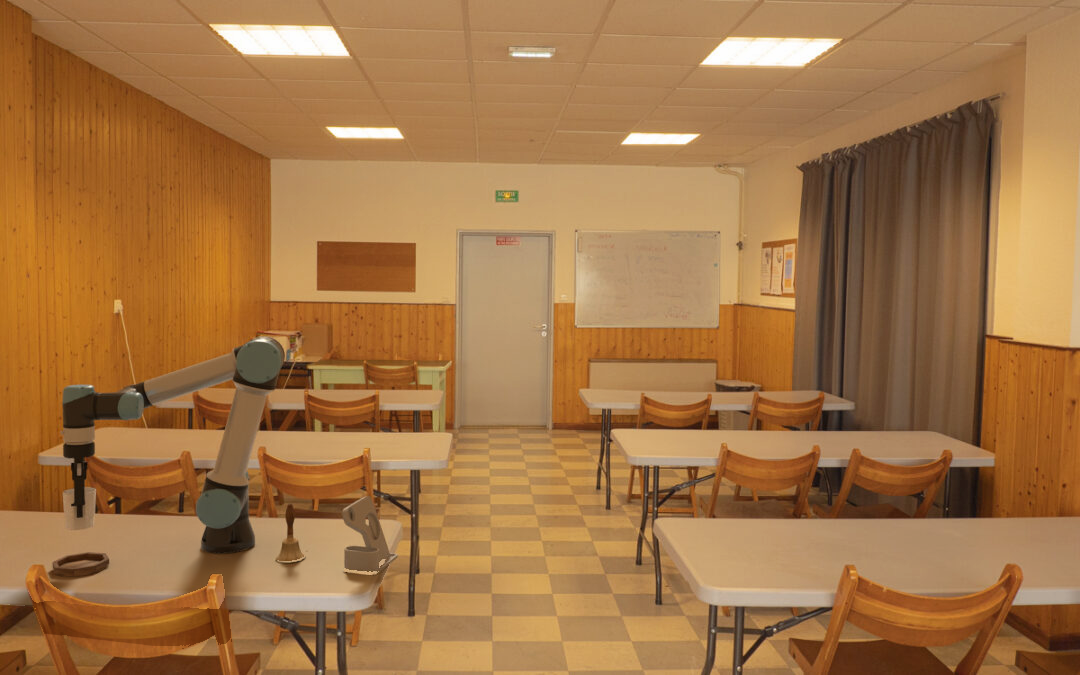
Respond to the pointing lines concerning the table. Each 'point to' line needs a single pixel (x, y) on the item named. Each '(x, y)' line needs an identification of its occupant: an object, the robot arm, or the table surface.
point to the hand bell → (290, 539)
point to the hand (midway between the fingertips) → (80, 524)
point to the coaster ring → (80, 564)
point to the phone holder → (366, 538)
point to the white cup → (89, 507)
